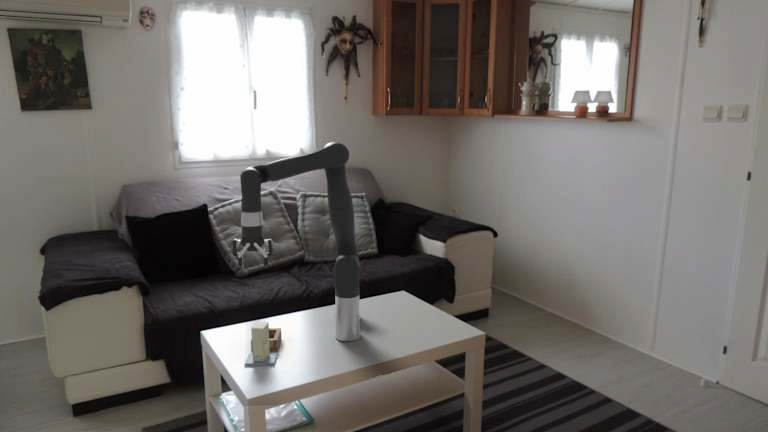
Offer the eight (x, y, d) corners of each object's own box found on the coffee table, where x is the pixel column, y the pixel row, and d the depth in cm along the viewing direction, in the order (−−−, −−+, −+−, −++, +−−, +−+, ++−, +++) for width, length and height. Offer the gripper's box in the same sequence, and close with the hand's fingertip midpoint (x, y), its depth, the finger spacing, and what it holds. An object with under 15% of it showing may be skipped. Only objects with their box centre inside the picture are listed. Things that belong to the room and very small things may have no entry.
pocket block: (281, 339, 215) (281, 328, 214) (277, 351, 204) (277, 340, 203) (256, 339, 214) (256, 328, 214) (251, 352, 203) (250, 340, 202)
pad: (277, 355, 200) (277, 353, 200) (274, 365, 193) (274, 363, 192) (248, 356, 200) (248, 353, 200) (244, 366, 192) (244, 363, 192)
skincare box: (264, 362, 193) (263, 328, 191) (252, 361, 193) (250, 328, 191) (270, 354, 199) (269, 322, 197) (257, 353, 200) (256, 321, 197)
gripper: (273, 221, 205) (274, 264, 208) (234, 221, 204) (235, 264, 207) (270, 225, 198) (271, 269, 201) (229, 225, 197) (231, 270, 200)
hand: (253, 267), depth 204 cm, fingers open, 8 cm apart
